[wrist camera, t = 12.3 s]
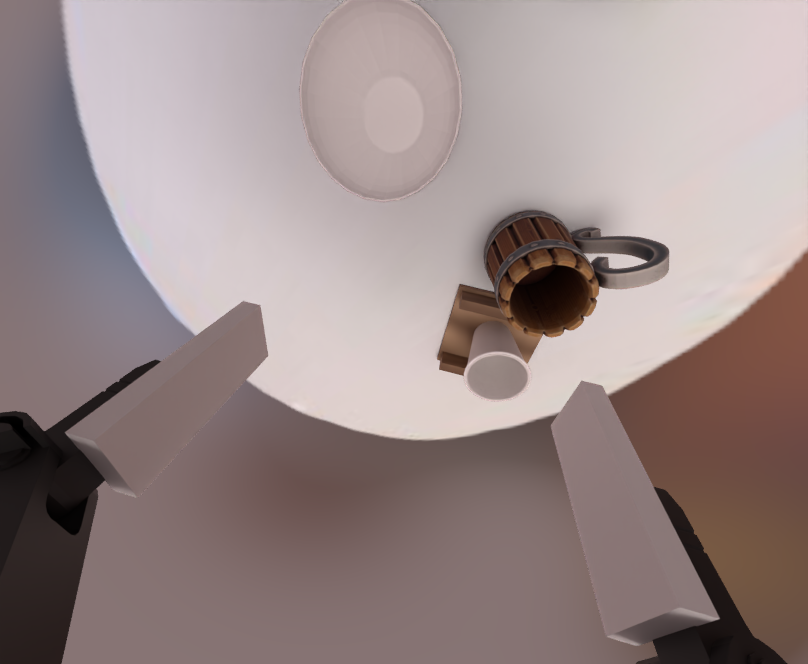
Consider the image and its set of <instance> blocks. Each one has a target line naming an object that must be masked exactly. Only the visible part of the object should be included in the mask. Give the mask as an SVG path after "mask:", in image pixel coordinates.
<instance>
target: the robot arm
mask: <svg viewBox="0 0 808 664" xmlns="http://www.w3.org/2000/svg"><path fill="white" fill-rule="evenodd" d="M267 357H268V351H267V345H266V338H265V332H264V326H263V319H262V313H261V307H260V305H257V304H253V303H248V302H244V301H243V302H241V303H240V304H239V305H237V306H236V307H235V308H233V309H232V310H231V311H229V312H228V313H226V314H225V315H224V316H222V317H221V318H220V319H218V320H217V321H216V322H214V323H213V324H211V325H210V326H209V327H207V328H206V329H205V330H203V331H202V332H201V333H199V334H198V335H197V336H195V337H194V338H193V339H191V340H190V341H188V342H187V343H186V344H184V345H183V346H182V347H181V348H179V349H178V350H176V351H175V352H173V353H172V354H171V355H169V356H168V357H167V358H165V359H164V360H163V361H158V360H154V361H151V362H149V363H147V364H144V365H142V366H140V367H137V368H135V369H134V370H132V371H131V372H130V373H128V374H127V375H125V376H124V377H123V378H121V379H120V381H119V382H115V383H114V384H112V385H111V386H110V387H108V388H107V389H106V391H105V392H101V393H100V394H98V395H97V396H95V397H94V398H92V399H91V400H90V401H88V402H87V403H85V404H84V405H82V406H81V407H80V408H78V409H77V410H75V411H74V412H72V413H71V414H70V415H68V416H67V417H65V418H64V419H63V420H61V421H60V422H58V423H57V424H55V425H54V426H53V427H51V428H50V429H48V430H46V431H43V430H42V429H41V428H40V427H39V426H38V424H37V423H36V422H35V421H34V420H33V419H32V418H31V417H30V416H29V415H28V414H27V413H24V412H17V411H12V412H4V413H0V664H61V663H62V659H63V654H64V650H65V645H66V640H67V636H68V631H69V627H70V622H71V618H72V613H73V609H74V604H75V600H76V595H77V591H78V586H79V581H80V577H81V573H82V568H83V563H84V559H85V554H86V549H87V545H88V541H89V536H90V532H91V527H92V523H93V518H94V514H95V509H96V504H97V500H98V491H97V489H96V488H97V487H98V486H99V485H100V484H101V483H103V481H106V482H107V483H108V484H109V486H110V487H111V488H112V489H113V490H114V491H116V492H120V493H123V494H126V495H130V496H133V497H137V498H138V497H139V496H140V495H141V494H142V493H143V492H144V490H145V489H147V487H148V486H149V485H150V484H151V483H152V482H153V481H154V480H155V479H156V478H157V477H158V475H159V474H160V473H161V472H162V471H163V470H164V469H165V468H166V467H167V466H168V464H169V463H170V462H171V461H172V460H173V459H174V458H175V457H176V456H177V455H178V454H179V452H180V451H181V450H182V449H183V448H184V447H185V446H186V444H188V443H189V442H190V441H191V439H192V438H193V437H194V436H195V435H196V434H197V433H198V432H199V430H201V429H202V427H203V426H204V425H205V424H206V423H207V422H208V421H209V420H210V419H211V418H212V417H213V415H214V414H215V413H216V412H217V411H218V410H219V409H220V408H221V407H222V406H223V404H224V403H225V402H226V401H227V400H228V399H229V398H230V397H231V396H232V395H233V394H234V392H235V391H236V390H237V389H238V388H239V387H240V386H241V385H242V384H243V383H244V382H245V381H246V379H247V378H248V377H249V376H250V375H251V374H252V373H253V372H254V371H255V370H256V369H257V367H258V366H259V365H260V364H261V363H262V362H263V361H264V360H265V359H266V358H267ZM551 429H552V433H553V436H554V440H555V443H556V448H557V451H558V455H559V459H560V463H561V467H562V471H563V475H564V478H565V482H566V486H567V490H568V494H569V497H570V501H571V505H572V508H573V513H574V516H575V520H576V524H577V528H578V532H579V536H580V539H581V543H582V547H583V550H584V555H585V558H586V562H587V566H588V570H589V574H590V577H591V581H592V585H593V589H594V593H595V596H596V600H597V604H598V608H599V612H600V615H601V619H602V623H603V627H604V631H605V635H606V637H609V638H612V639H615V640H619V641H622V642H626V643H629V644H632V645H636V646H639V645H642V644H645V643H648V642H651V641H653V643H654V646H655V649H656V652H657V654H658V656H656V657H653V658H649V659H645V660H642V661H638V662H637V663H636V664H787V663H786V662H785V661H784V660H783V659H782V658H781V657H780V656H779V655H778V654H777V653H776V652H775V651H774V650H772V649H771V648H770V647H768V646H767V645H765V644H764V643H763V642H761V641H760V640H759V639H756V638H754V636H753V635H752V633H751V632H750V630H749V628H748V627H747V626H746V624H745V622H744V620H743V618H742V617H741V615H740V613H739V611H738V610H737V608H736V606H735V604H734V602H733V600H732V598H731V597H730V595H729V593H728V591H727V590H726V588H725V586H724V584H723V582H722V581H721V579H720V577H719V575H718V573H717V571H716V570H715V568H714V566H713V564H712V562H711V561H710V559H709V557H708V555H707V554H706V553H704V551H703V549H704V548H703V546H702V545H701V542H700V541H699V539H698V537H697V535H695V534H694V530H693V528H692V526H691V524H690V522H689V521H688V519H687V517H686V515H685V514H684V512H683V510H682V509H681V507H680V506H679V505H678V504H677V503H676V502H675V500H674V499H673V498H672V497H671V496H670V495H669V494H668V492H667V491H665V490H663V489H660V488H656V487H653V485H652V484H651V482H650V480H649V477H648V475H647V473H646V471H645V470H644V468H643V466H642V464H641V462H640V460H639V458H638V456H637V454H636V452H635V450H634V448H633V446H632V444H631V442H630V440H629V438H628V436H627V434H626V432H625V430H624V428H623V426H622V424H621V422H620V420H619V418H618V416H617V414H616V412H615V410H614V408H613V406H612V405H611V402H610V400H609V398H608V396H607V394H606V392H605V390H604V388H603V386H601V385H597V384H593V383H589V382H584V381H581V382H580V384H579V385H578V387H577V388H576V390H575V391H574V393H573V394H572V396H571V397H570V398H569V400H568V401H567V403H566V404H565V406H564V407H563V409H562V410H561V412H560V413H559V414H558V416H557V417H556V419H555V420H554V422H553V423H552V425H551Z"/></svg>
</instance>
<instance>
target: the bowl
mask: <svg viewBox="0 0 808 664" xmlns="http://www.w3.org/2000/svg"><path fill="white" fill-rule="evenodd" d="M299 92H300V106H301V117H302V121H303V125H304V128H305V132H306V136H307V140H308V142H309V144H310V146H311V148H312V150H313V152H314V154H315V156H316V158H317V160H318V162H319V163H320V164H321V166H322V167H323V168H324V169H325V171H326V172H327V173H328V174H329V176H330V177H331V178H332V179H333V180H334V181H335V182H337V183H338V184H339V185H340V186H342V187H343V188H344V189H345V190H346V191H348V192H350V193H352V194H355V195H357V196H359V197H361V198H363V199H367V200H374V201H380V202H386V201H394V200H401V199H403V198H406V197H408V196H410V195H412V194H414V193H416V192H419V191H420V190H421V189H422V188H423V187H425V186H426V185H427V184H428V183H429V182H431V181H432V180H433V179H434V178H435V177H436V176H437V174H438V173H439V171H440V170H441V168H442V167H443V166H444V164H445V163H446V161H447V160H448V158H449V156H450V153H451V151H452V148H453V146H454V143H455V141H456V138H457V136H458V131H459V125H460V119H461V113H462V89H461V77H460V73H459V70H458V66H457V62H456V59H455V55H454V51H453V49H452V47H451V46H450V44H449V42H448V40H447V38H446V37H445V35H444V33H443V31H442V29H441V27H440V26H439V24H438V23H437V22H436V21H435V20H434V19H433V18H432V17H431V16H430V15H429V14H428V13H427V12H426V11H425V10H424V9H423V8H422V7H421V6H420V5H418V4H416V3H414V2H412V1H410V0H345V1H344V2H343V3H342V4H340V5H339V6H338V7H337V8H335V9H334V10H333V11H331V12H330V13H329V14H328V15H327V16H326V17H325V19H324V20H323V22H322V23H321V25H320V26H319V28H318V29H317V31H316V32H315V33H314V35H313V36H312V39H311V41H310V44H309V47H308V50H307V52H306V55H305V58H304V60H303V64H302V72H301V80H300V88H299Z"/></svg>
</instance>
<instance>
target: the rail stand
mask: <svg viewBox="0 0 808 664" xmlns="http://www.w3.org/2000/svg"><path fill="white" fill-rule="evenodd" d="M488 321H498V322H501V323H503V324H505V325H506V326H507V327H508V328H509V330H510V332H511V334H512V336H513V338H514V340H515V342H516V344H517V346H518V349H519V351H520V353H521V355H522V357H523V359H524V361H525V362H526V363H528V361H529V360H530V358H531V356H532V354H533V352H534V350H535V348H536V347H537V345H538V343H539V341H540V339H541V337H542V336H540V337H532V336H529V335H527V334H525V333H524V331H523V330H522V331H518V330H517V329H515V328H514V327H512V326H511V325H510V323H509V322H508V320H507V318H506V317H505V316H504V314H503V313H502V312H501V310H500V308H499V305H498V303H497V300H496V297H495V292H490V291H486V290H482V289H478V288H474V287H470V286H465V285H461V284H460V286H459V289H458V293H457V296H456V299H455V302H454V305H453V309H452V312H451V315H450V318H449V322H448V325H447V328H446V331H445V335H444V338H443V341H442V344H441V348H440V351H439V354H438V358H437V360H440V368H439V370H443V371H447V372H451V373H455V374H459V375H462V376H464V371H465V368H466V366H467V364H468V359H469V354H470V349H471V345H472V340H473V335H474V332H475V330H476V328H477V327H478V326H479V325H481V324H482V323H485V322H488Z"/></svg>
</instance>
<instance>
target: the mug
mask: <svg viewBox="0 0 808 664" xmlns="http://www.w3.org/2000/svg"><path fill="white" fill-rule="evenodd" d="M583 253H615V254H626V255H632V256H635V257H638V258H641V259H643V260H646V261H648V262H647V263H644V264H642V265H638V266H634V267H630V268H622V269H612V268H609V264H608V257H597V258H595V259H594V260H593V261H592V262H591V263H590V262H589V261H588V259H587V258H586V256H585V255H584V254H583ZM484 263H485V268H486V271H487V273H488V276H489V278H490V280H491V281H492V284H493V287H494V291H495V297H496V300H497V303H498V305H499V308H500V310H501V312H502V313H503V314H504V316H505V317H506V318H507V320H508V322H509V323H510V325H511V326H512V327H514V328H515V329H517V330H518V331H522V330H523V331H524V333H525V334H527V335H529V336H532V337H540V336H542V335H543V334H544V335H546V336H547V337H556V336H560V335H561V334H563V332H564V330H565V329H567V330H574V329H576V328H578V327H579V326H580V325H581V324H582V323H583V321H584V318H583V316H586V317H587V316H589V315H591V314H592V312H593V311H594V309H595V306H596V303H597V300H596V299H595V298H596V297H597V295H598V294H599V286H600V287H602V288H608V289H628V288H634V287H640V286H644V285H648V284H651V283H653V282H656V281H658V280H660V279H661V278H663V277H664V276H665V275H666V274H667V273H668V270H669V249H668V248H667V247H666V246H665V245H663V244H661V243H659V242H656V241H653V240H649V239H646V238H641V237H631V236H609V237H601V233H600V229H599V228H589V229H584V230H581V231H578V232H576V233H574V234H573V235H572V236H571V234H570V233H569V231H568V230H567V228H566V227H565V225H564V224H563V223H562V222H561V221H560V220H559V219H557V218H556V217H554V216H553V215H550V214H547V213H544V212H539V211H530V212H522V213H518V214H515V215H513V216H511V217H509V219H507V220H505V221H503V222H502V223H501V224H499V225H498V226H497V227H496V228H495V230H494V231H493V232H492V235H491V236H490V237H489V239H488V242H487V244H486V247H485V253H484Z"/></svg>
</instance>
